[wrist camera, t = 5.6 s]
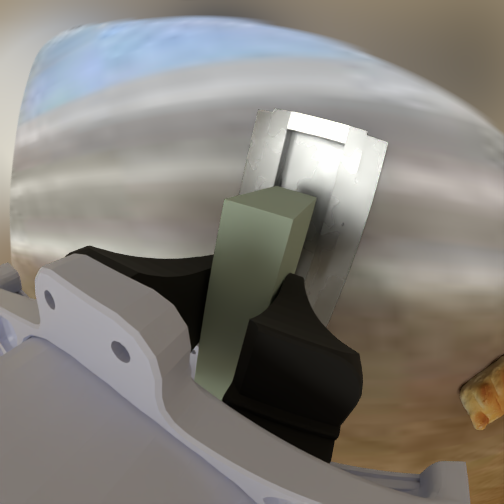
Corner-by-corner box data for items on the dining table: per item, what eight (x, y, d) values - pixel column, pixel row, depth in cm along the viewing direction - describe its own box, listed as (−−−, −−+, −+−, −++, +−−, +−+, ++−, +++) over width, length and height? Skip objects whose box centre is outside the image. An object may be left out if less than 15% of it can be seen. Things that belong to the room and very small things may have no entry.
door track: (295, 388, 22) (289, 408, 19) (211, 355, 24) (198, 371, 21) (385, 144, 15) (392, 139, 12) (263, 112, 16) (250, 104, 14)
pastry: (530, 320, 13) (550, 343, 10) (541, 359, 13) (556, 382, 10) (452, 388, 17) (460, 418, 14) (472, 416, 17) (479, 443, 14)
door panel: (274, 334, 16) (236, 408, 10) (242, 322, 16) (192, 389, 11) (316, 197, 13) (293, 219, 7) (276, 186, 13) (224, 199, 8)
